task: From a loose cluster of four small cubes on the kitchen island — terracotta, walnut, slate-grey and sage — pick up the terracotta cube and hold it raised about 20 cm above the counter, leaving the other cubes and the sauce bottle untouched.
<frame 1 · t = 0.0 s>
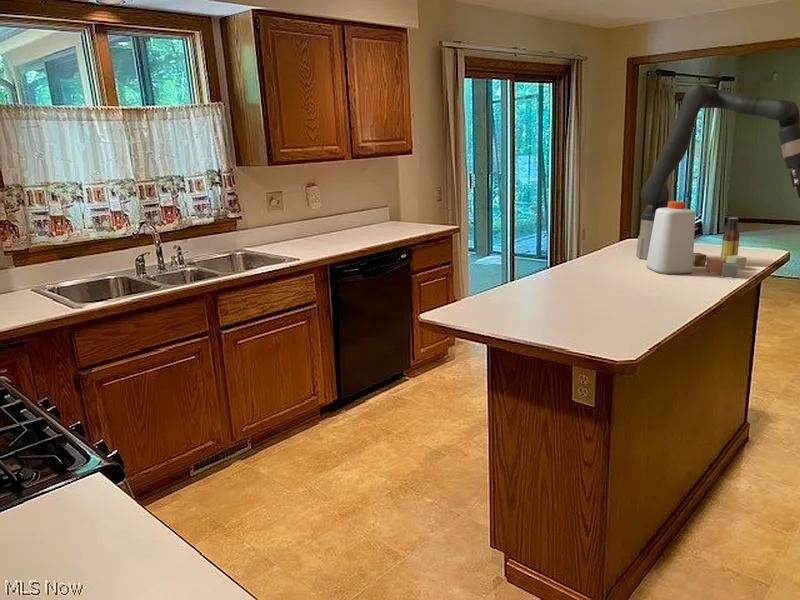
walnut cube: (695, 265, 250), on the table
terracotta cube: (714, 271, 240), on the table
plastic bottle: (668, 270, 242), on the table
slate cube: (727, 276, 231), on the table
sauce bottle: (727, 264, 252), on the table
sage cube: (734, 268, 244), on the table
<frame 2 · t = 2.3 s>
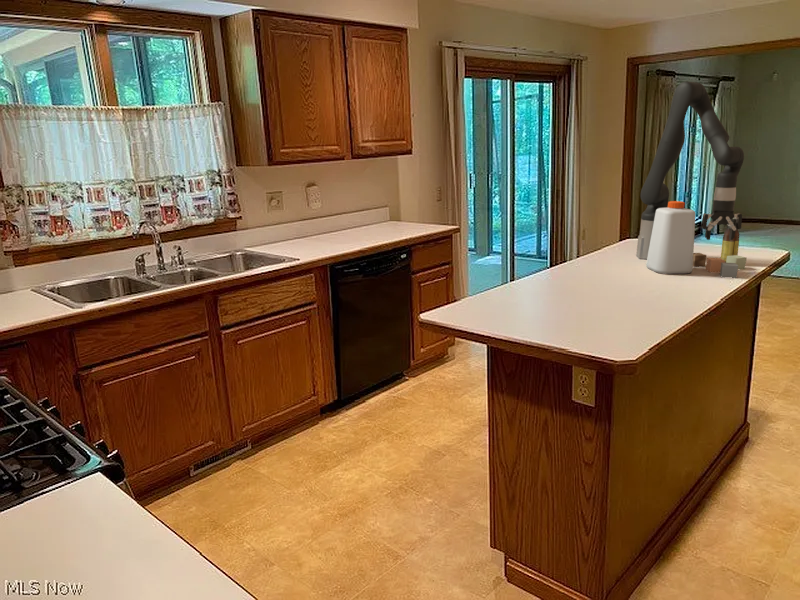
hand: (719, 239, 236), 13 cm above the table, tool pointing down, fingers open, 8 cm apart
nothing on the table moved.
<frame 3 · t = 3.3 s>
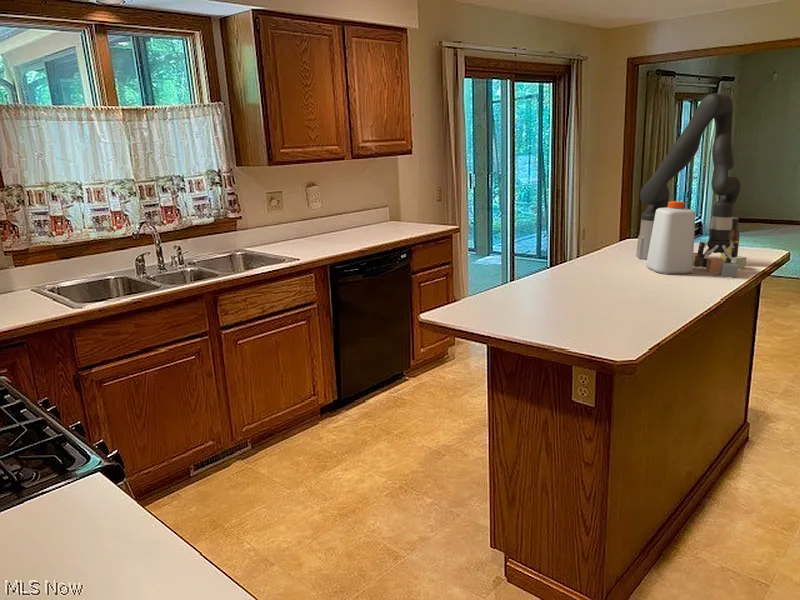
hand: (715, 267, 240), 1 cm above the table, tool pointing down, fingers open, 8 cm apart
nothing on the table moved.
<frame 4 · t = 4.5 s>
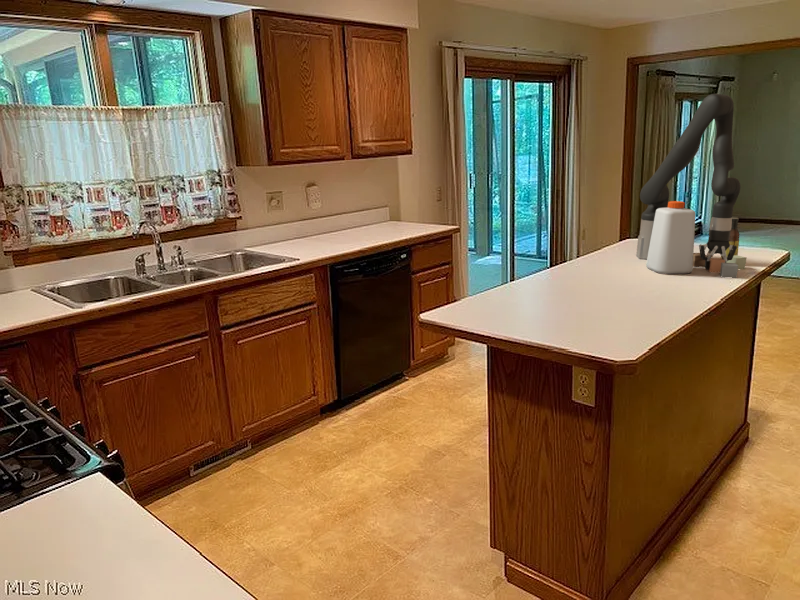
hand: (714, 269, 240), 0 cm above the table, tool pointing down, fingers closed on terracotta cube, 5 cm apart
terracotta cube: (714, 271, 240), on the table, touching gripper
everything else where it was.
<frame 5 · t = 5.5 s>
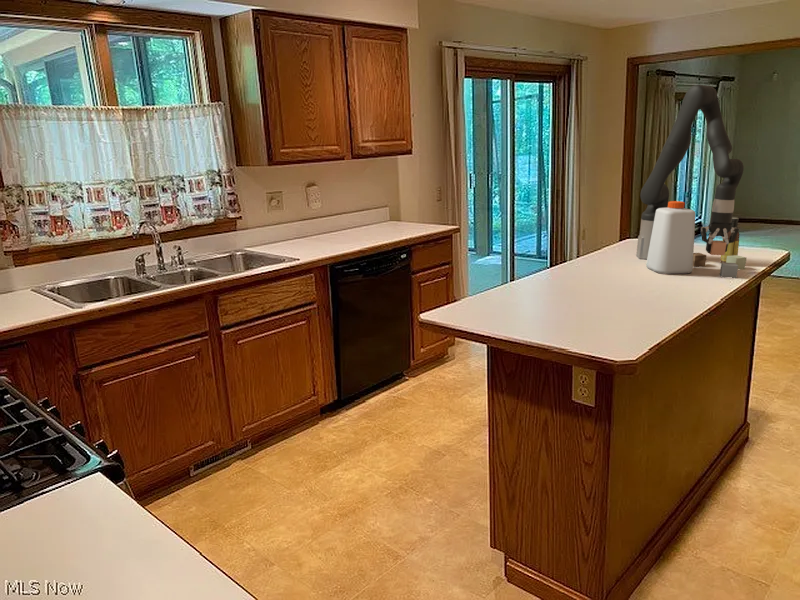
hand: (715, 252, 238), 8 cm above the table, tool pointing down, fingers closed on terracotta cube, 5 cm apart
terracotta cube: (715, 253, 238), point 7 cm above the table, touching gripper
everything else where it was.
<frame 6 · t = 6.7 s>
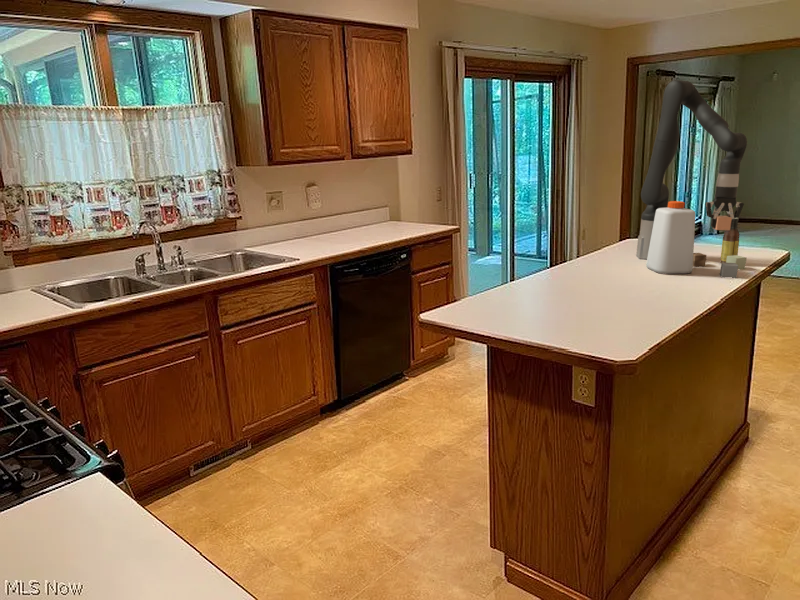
hand: (721, 227, 237), 17 cm above the table, tool pointing down, fingers closed on terracotta cube, 5 cm apart
terracotta cube: (720, 229, 237), point 17 cm above the table, touching gripper
everything else where it was.
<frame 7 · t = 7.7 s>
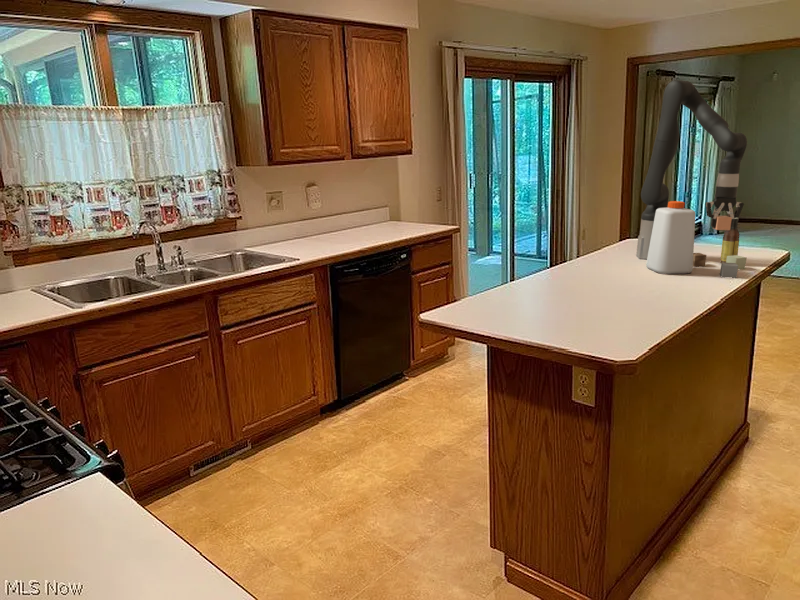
hand: (721, 227, 237), 17 cm above the table, tool pointing down, fingers closed on terracotta cube, 5 cm apart
terracotta cube: (721, 229, 237), point 17 cm above the table, touching gripper
everything else where it was.
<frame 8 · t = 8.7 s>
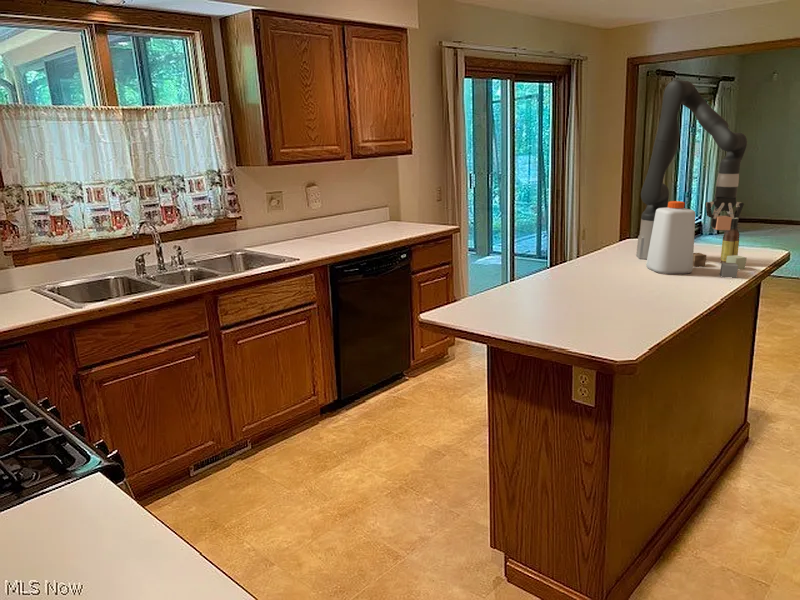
hand: (721, 227, 237), 17 cm above the table, tool pointing down, fingers closed on terracotta cube, 5 cm apart
terracotta cube: (721, 229, 237), point 17 cm above the table, touching gripper
everything else where it was.
at the end: the gripper is holding terracotta cube; terracotta cube point 16.9 cm above the table; slate cube moved 0.1 cm from its start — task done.
